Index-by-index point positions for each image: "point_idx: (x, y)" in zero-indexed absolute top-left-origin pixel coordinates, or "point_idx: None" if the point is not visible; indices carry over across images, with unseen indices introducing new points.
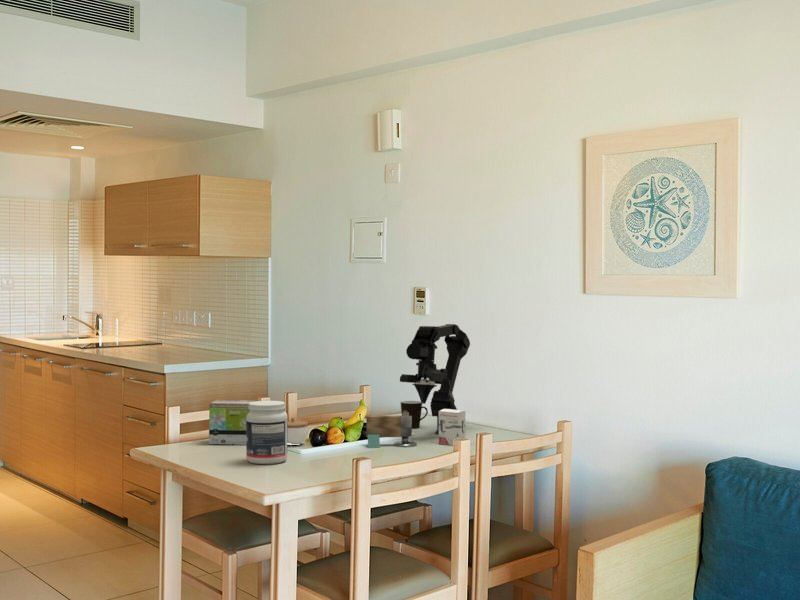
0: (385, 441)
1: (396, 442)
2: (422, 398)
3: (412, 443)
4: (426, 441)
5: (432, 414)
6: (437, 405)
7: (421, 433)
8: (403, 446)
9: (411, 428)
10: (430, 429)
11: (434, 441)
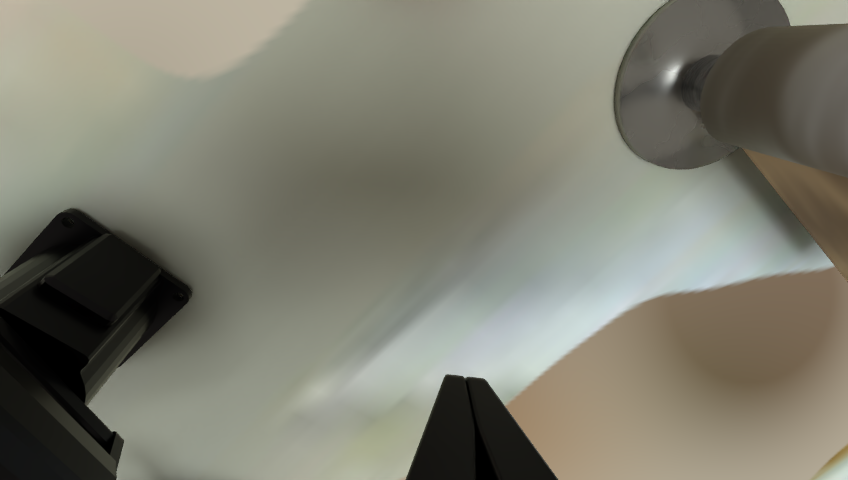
0: (649, 271)
1: (709, 154)
2: (529, 463)
3: (685, 35)
4: (471, 95)
5: (117, 448)
6: (37, 471)
7: (269, 357)
8: (782, 22)
9: (806, 36)
10: (120, 429)
11: (424, 48)
